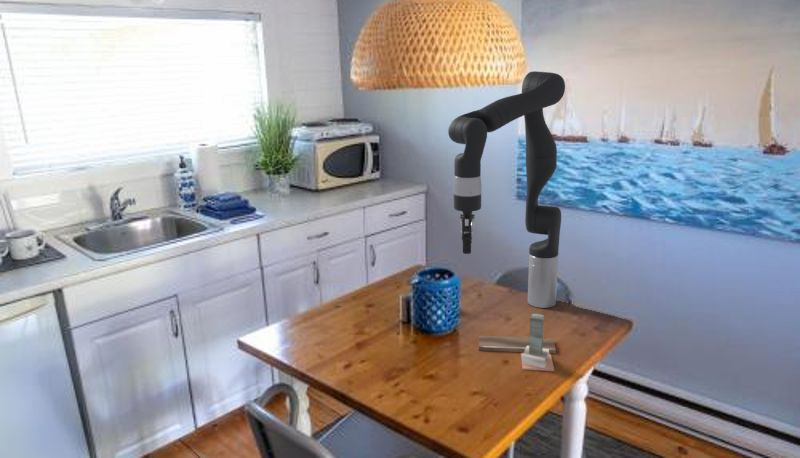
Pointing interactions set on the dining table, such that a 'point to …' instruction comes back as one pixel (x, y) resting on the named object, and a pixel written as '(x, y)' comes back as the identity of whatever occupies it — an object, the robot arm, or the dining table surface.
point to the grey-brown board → (511, 344)
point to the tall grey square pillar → (536, 344)
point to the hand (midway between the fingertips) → (467, 248)
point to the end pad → (547, 368)
